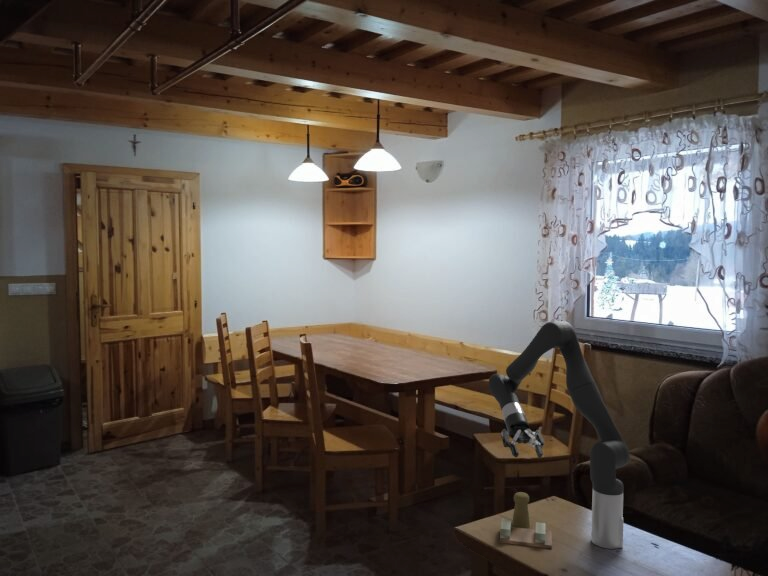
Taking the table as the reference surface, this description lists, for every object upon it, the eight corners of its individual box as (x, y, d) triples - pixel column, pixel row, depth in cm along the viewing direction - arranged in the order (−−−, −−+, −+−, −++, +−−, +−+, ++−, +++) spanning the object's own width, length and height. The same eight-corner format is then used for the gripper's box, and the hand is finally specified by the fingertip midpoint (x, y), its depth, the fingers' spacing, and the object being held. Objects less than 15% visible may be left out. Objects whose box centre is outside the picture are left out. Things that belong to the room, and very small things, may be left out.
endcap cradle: (551, 534, 204) (551, 522, 204) (551, 548, 194) (551, 536, 194) (502, 528, 208) (502, 517, 208) (499, 542, 198) (500, 530, 198)
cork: (531, 529, 208) (532, 497, 207) (513, 528, 208) (514, 496, 207) (527, 521, 214) (528, 490, 213) (510, 521, 214) (511, 489, 213)
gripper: (499, 410, 215) (512, 448, 202) (537, 412, 218) (552, 449, 205) (493, 425, 219) (505, 463, 207) (530, 426, 222) (544, 463, 210)
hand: (528, 456), depth 206 cm, fingers open, 8 cm apart
